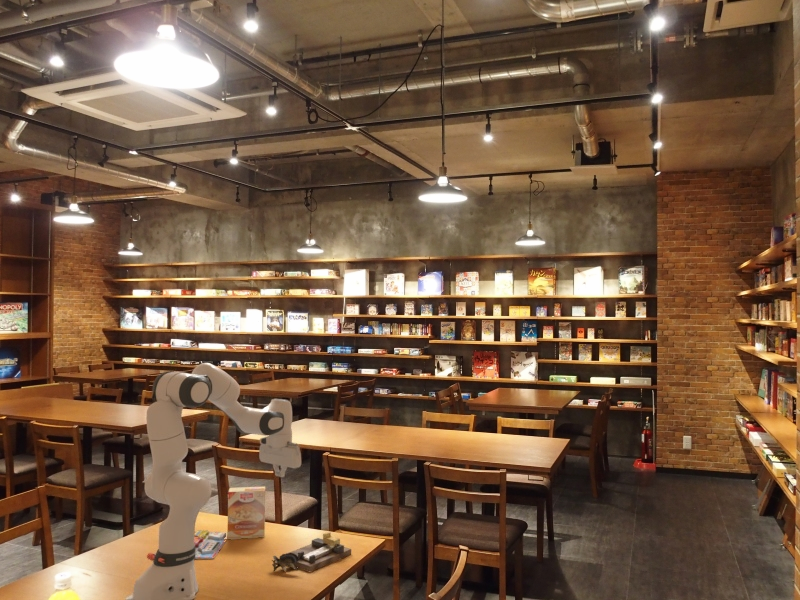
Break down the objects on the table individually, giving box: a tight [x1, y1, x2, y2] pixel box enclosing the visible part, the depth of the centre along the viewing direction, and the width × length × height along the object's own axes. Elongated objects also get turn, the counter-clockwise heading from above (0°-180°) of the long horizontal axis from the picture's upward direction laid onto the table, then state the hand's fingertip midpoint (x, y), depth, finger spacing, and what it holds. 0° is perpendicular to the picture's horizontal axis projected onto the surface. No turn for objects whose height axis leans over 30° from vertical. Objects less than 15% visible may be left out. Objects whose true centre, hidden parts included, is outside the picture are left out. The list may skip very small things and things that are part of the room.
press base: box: [288, 537, 352, 573], centre depth 237 cm, size 22×16×4 cm
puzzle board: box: [154, 529, 227, 560], centre depth 249 cm, size 30×23×3 cm
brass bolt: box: [322, 531, 341, 546], centre depth 240 cm, size 3×6×3 cm, turn 53°
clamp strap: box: [302, 544, 334, 561], centre depth 234 cm, size 16×4×1 cm, turn 143°
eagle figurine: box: [271, 552, 299, 574], centre depth 224 cm, size 8×7×9 cm
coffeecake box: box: [226, 486, 266, 540], centre depth 261 cm, size 15×7×20 cm, turn 101°
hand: (279, 476), depth 243 cm, fingers closed
